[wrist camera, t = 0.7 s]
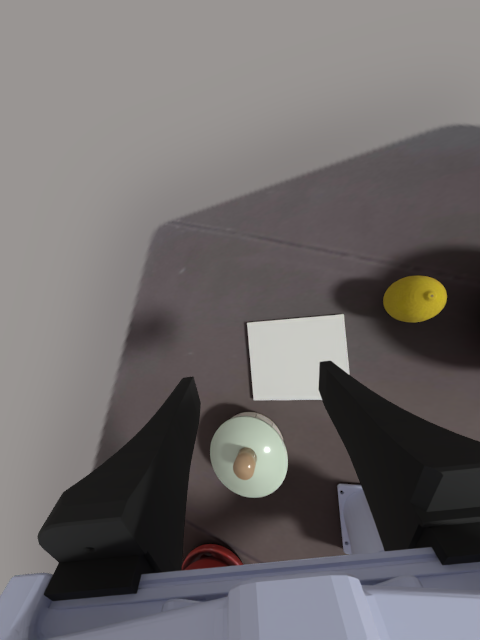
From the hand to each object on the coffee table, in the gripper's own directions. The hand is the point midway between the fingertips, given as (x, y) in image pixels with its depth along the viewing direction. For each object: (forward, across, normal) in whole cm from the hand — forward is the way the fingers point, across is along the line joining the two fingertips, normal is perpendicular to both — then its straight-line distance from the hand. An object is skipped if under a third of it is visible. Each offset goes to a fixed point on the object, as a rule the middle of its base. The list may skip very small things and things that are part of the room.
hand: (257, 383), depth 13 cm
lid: (+10, +2, +23) cm, 25 cm away
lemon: (+18, -21, +5) cm, 28 cm away
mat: (+18, -7, +12) cm, 22 cm away
